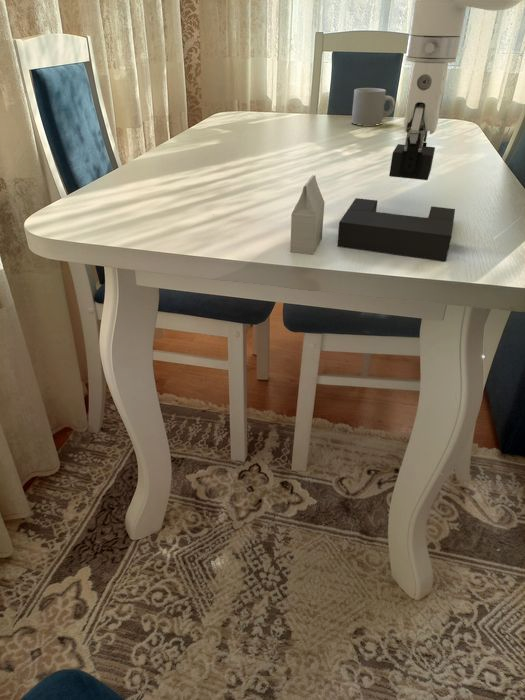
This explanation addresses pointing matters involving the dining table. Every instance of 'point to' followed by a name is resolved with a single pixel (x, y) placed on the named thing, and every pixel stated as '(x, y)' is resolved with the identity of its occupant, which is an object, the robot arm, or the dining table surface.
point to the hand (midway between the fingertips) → (411, 169)
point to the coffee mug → (370, 106)
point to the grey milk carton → (307, 219)
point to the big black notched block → (396, 231)
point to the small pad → (424, 168)
